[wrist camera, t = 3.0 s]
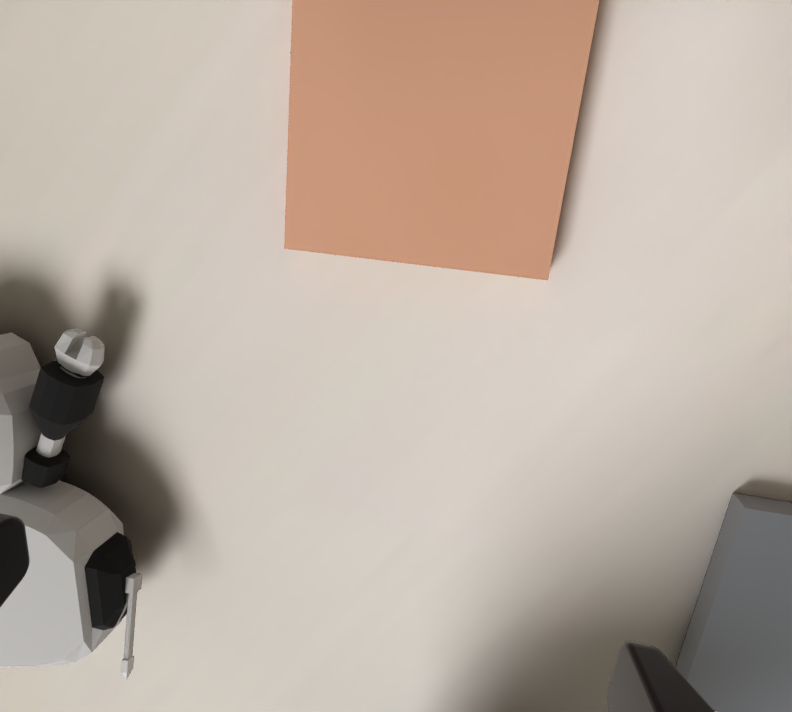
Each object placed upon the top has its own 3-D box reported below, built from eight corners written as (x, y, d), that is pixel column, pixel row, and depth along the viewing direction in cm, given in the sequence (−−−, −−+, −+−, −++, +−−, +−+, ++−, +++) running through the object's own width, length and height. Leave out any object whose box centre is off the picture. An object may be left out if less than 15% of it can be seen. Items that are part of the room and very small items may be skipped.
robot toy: (-93, 304, 24) (-39, 595, 28) (-219, 319, 20) (-138, 662, 23) (155, 315, 22) (181, 625, 26) (76, 333, 18) (119, 704, 21)
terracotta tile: (544, 275, 18) (547, 280, 17) (293, 245, 20) (284, 248, 19) (600, -30, 16) (607, -44, 15) (305, -43, 17) (294, -58, 16)
